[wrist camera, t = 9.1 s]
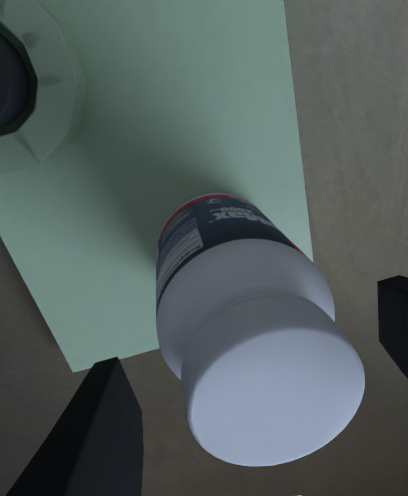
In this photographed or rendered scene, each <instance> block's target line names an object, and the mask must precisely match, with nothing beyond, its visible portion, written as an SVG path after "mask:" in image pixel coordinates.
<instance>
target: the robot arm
mask: <svg viewBox="0 0 408 496" xmlns="http://www.w3.org/2000/svg"><path fill="white" fill-rule="evenodd" d="M377 283H378V320H379V341H380V343H381V344H382V345H383V347H384V348H385V350H386V351H387V352H388V354H389V355H390V357H391V358H392V359H393V361H394V362H395V363H396V365H397V366H398V367H399V369H400V370H401V371H402V372H403V374H404V375H405V376H406V377H407V378H408V277H404V276H400V275H398V276H395V277H391V278H388V279H384V280H381V281H377ZM143 454H144V446H143V425H142V410H141V408H140V406H139V403H138V401H137V399H136V397H135V394H134V392H133V390H132V388H131V386H130V383H129V381H128V379H127V377H126V374H125V372H124V370H123V368H122V365H121V363H120V361H119V359H118V357H113V358H110V359H106V360H103V361H99V362H96V363H94V365H93V366H92V368H91V369H90V371H89V372H88V374H87V376H86V377H85V379H84V380H83V382H82V384H81V385H80V387H79V388H78V390H77V392H76V393H75V395H74V396H73V398H72V400H71V401H70V403H69V404H68V406H67V407H66V409H65V411H64V412H63V414H62V415H61V417H60V418H59V420H58V421H57V423H56V424H55V426H54V427H53V429H52V431H51V432H50V434H49V435H48V437H47V438H46V440H45V441H44V442H43V444H42V445H41V447H40V448H39V450H38V451H37V452H36V454H35V455H34V457H33V458H32V459H31V461H30V462H29V464H28V465H27V467H26V468H25V469H24V471H23V472H22V474H21V475H20V476H19V478H18V479H17V481H16V482H15V484H14V485H13V486H12V488H11V489H10V490H9V492H8V493H7V494H6V496H141V489H142V472H143Z"/></svg>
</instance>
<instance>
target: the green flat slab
mask: <svg viewBox="0 0 408 496" xmlns="http://www.w3.org/2000/svg"><path fill="white" fill-rule="evenodd" d="M0 33H1V34H2V35H3V36H4V37H5V38H7V39H8V40H9V41H10V42H11V43H12V45H13V46H14V47H15V48H16V50H17V51H18V52H19V54H20V56H21V57H22V59H23V61H24V63H25V65H26V68H27V71H28V75H29V81H30V94H29V99H28V102H27V105H26V107H25V109H24V111H23V112H22V114H21V115H20V116H19V117H18V118H17V119H16V120H14V121H13V122H11V123H9V124H7V125H5V126H2V127H0V237H1V239H2V241H3V242H4V244H5V246H6V248H7V250H8V252H9V254H10V256H11V257H12V259H13V261H14V263H15V265H16V267H17V269H18V271H19V272H20V274H21V276H22V278H23V280H24V282H25V284H26V285H27V287H28V289H29V291H30V293H31V295H32V297H33V299H34V300H35V302H36V304H37V306H38V308H39V310H40V312H41V314H42V315H43V317H44V319H45V321H46V323H47V325H48V327H49V329H50V330H51V332H52V334H53V336H54V338H55V340H56V342H57V344H58V345H59V347H60V349H61V351H62V353H63V355H64V357H65V359H66V360H67V362H68V364H69V366H70V368H71V370H72V372H77V371H80V370H84V369H87V368H91V367H92V366H93V365H94V363H96V362H99V361H103V360H106V359H110V358H113V357H118V359H122V358H126V357H129V356H133V355H136V354H140V353H143V352H147V351H150V350H154V349H158V348H160V347H159V343H158V337H157V330H156V250H157V242H158V237H159V234H160V231H161V229H162V227H163V225H164V223H165V222H166V220H167V219H168V217H169V216H170V215H171V214H172V213H173V212H174V211H175V210H176V209H177V208H178V207H179V206H181V205H182V204H183V203H185V202H187V201H188V200H190V199H192V198H195V197H197V196H200V195H204V194H210V193H227V194H232V195H236V196H238V197H241V198H243V199H245V200H247V201H249V202H251V203H252V204H253V205H255V206H256V207H257V208H258V209H259V210H260V211H261V212H262V213H263V214H264V215H265V216H267V218H268V219H269V220H270V221H271V222H272V223H273V224H274V225H275V226H276V227H277V228H278V229H279V230H280V231H281V232H282V233H283V234H284V235H285V236H286V237H287V238H288V239H289V240H290V241H291V242H292V243H293V244H295V245H296V246H297V247H298V248H299V249H300V250H301V251H302V252H303V253H304V254H305V255H306V256H307V257H308V258H309V259H310V260H311V261H312V262H313V253H312V245H311V236H310V227H309V219H308V210H307V201H306V193H305V184H304V175H303V167H302V158H301V149H300V141H299V132H298V123H297V115H296V106H295V97H294V89H293V80H292V72H291V63H290V54H289V46H288V37H287V28H286V20H285V11H284V2H283V0H0ZM313 263H314V262H313Z"/></svg>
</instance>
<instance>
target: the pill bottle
mask: <svg viewBox="0 0 408 496" xmlns="http://www.w3.org/2000/svg"><path fill="white" fill-rule="evenodd" d="M334 321H335V308H334V301H333V297H332V293H331V290H330V287H329V285H328V283H327V281H326V279H325V278H324V276H323V274H322V273H321V272H320V270H319V269H318V268H317V267H316V265H315V264H314V263H313V262H312V261H311V260H310V259H309V258H308V257H307V256H306V255H305V254H304V253H303V252H302V251H301V250H300V249H299V248H298V247H297V246H296V245H295V244H293V243H292V242H291V241H290V240H289V239H288V238H287V237H286V236H285V235H284V234H283V233H282V232H281V231H280V230H279V229H278V228H277V227H276V226H275V225H274V224H273V223H272V222H271V221H270V220H269V219H268V218H267V216H265V215H264V214H263V213H262V212H261V211H260V210H259V209H258V208H257V207H256V206H255V205H253V204H252V203H251V202H249V201H247V200H245V199H243V198H241V197H238V196H236V195H232V194H227V193H210V194H204V195H200V196H197V197H195V198H192V199H190V200H188V201H187V202H185V203H183V204H182V205H181V206H179V207H178V208H177V209H176V210H175V211H174V212H173V213H172V214H171V215H170V216H169V217H168V219H167V220H166V222H165V223H164V225H163V227H162V229H161V231H160V234H159V237H158V242H157V250H156V330H157V337H158V343H159V347H160V350H161V352H162V355H163V357H164V359H165V361H166V363H167V364H168V366H169V367H170V369H171V370H172V371H173V373H174V374H175V375H176V376H177V377H178V378H179V379H180V380H181V386H182V390H183V396H184V403H185V410H186V416H187V421H188V425H189V427H190V430H191V432H192V434H193V436H194V437H195V439H196V440H197V442H198V443H199V444H200V445H201V446H202V447H203V448H204V449H205V450H206V451H207V452H209V453H210V454H212V455H213V456H215V457H217V458H219V459H221V460H223V461H226V462H229V463H233V464H237V465H243V466H271V465H276V464H281V463H285V462H289V461H293V460H295V459H298V458H301V457H303V456H306V455H308V454H310V453H312V452H314V451H315V450H317V449H319V448H321V447H322V446H324V445H326V444H327V443H328V442H329V441H331V440H332V439H333V438H335V437H336V436H337V435H338V434H339V433H340V432H341V431H342V430H343V429H344V428H345V427H346V426H347V424H348V423H349V422H350V421H351V419H352V418H353V416H354V415H355V413H356V411H357V409H358V407H359V405H360V403H361V399H362V396H363V393H364V387H365V376H364V368H363V365H362V362H361V359H360V357H359V355H358V354H357V352H356V351H355V349H354V348H353V346H352V345H351V344H350V342H349V341H348V340H347V338H346V337H345V336H344V335H343V333H342V332H341V331H340V329H339V328H338V326H337V325H336V323H335V322H334Z"/></svg>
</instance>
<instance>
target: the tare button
mask: <svg viewBox="0 0 408 496" xmlns="http://www.w3.org/2000/svg"><path fill="white" fill-rule="evenodd" d="M29 94H30V81H29V75H28V71H27V68H26V65H25V63H24V61H23V59H22V57H21V56H20V54H19V52H18V51H17V50H16V48H15V47H14V46H13V45H12V43H11V42H10V41H9V40H8V39H7V38H5V37H4V36H3V35H2V34H1V33H0V127H2V126H5V125H7V124H9V123H11V122H13V121H14V120H16V119H17V118H18V117H19V116H20V115H21V114H22V112H23V111H24V109H25V107H26V105H27V102H28V99H29Z"/></svg>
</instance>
